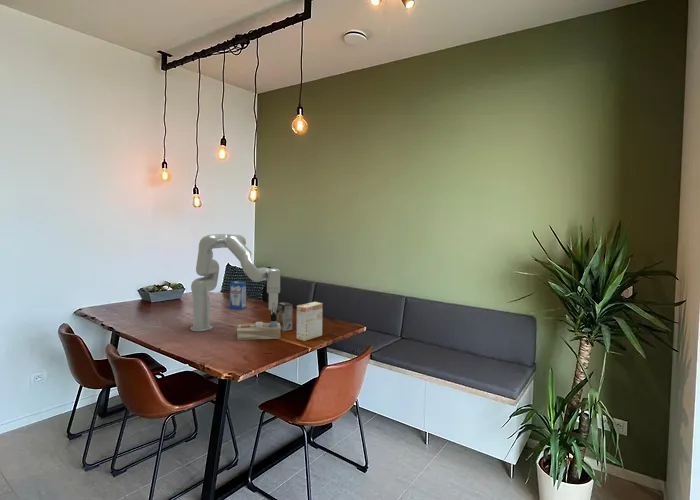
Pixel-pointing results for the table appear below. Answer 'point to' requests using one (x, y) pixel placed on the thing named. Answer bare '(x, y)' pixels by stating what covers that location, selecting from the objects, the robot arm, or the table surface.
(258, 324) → the white key
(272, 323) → the slate-blue key
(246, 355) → the table surface
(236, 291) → the milk carton
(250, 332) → the key console
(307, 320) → the coffeecake box
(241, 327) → the terracotta key
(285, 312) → the coffee box
